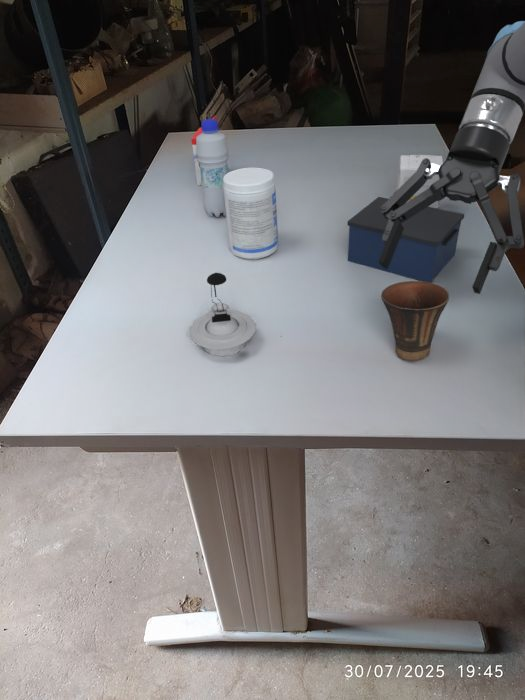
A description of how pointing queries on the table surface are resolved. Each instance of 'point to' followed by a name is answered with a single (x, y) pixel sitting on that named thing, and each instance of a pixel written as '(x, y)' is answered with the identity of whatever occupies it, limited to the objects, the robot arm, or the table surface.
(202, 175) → the bottle
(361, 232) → the storage box
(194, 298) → the table surface
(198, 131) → the spray bottle
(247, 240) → the supplement tub
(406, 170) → the ink box
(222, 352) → the round stand with stem
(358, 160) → the table surface
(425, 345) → the cup
